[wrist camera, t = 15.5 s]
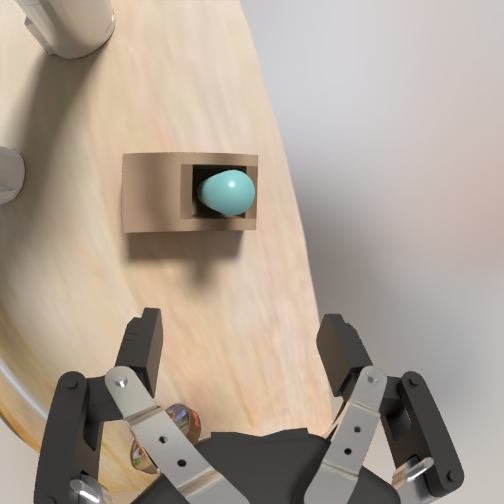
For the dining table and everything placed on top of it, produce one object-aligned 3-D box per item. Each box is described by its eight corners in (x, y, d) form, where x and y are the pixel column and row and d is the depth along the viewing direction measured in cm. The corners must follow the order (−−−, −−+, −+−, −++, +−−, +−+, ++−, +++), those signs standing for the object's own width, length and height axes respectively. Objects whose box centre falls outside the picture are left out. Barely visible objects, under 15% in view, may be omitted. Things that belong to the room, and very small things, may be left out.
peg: (196, 207, 34) (209, 215, 22) (197, 177, 33) (210, 169, 22) (226, 207, 35) (254, 215, 23) (227, 177, 34) (255, 170, 23)
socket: (129, 226, 32) (122, 232, 27) (129, 159, 30) (123, 153, 25) (244, 224, 36) (256, 230, 31) (246, 159, 34) (258, 155, 29)
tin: (184, 393, 38) (190, 432, 30) (200, 403, 39) (208, 441, 31) (129, 438, 37) (127, 475, 30) (144, 446, 39) (144, 483, 31)
